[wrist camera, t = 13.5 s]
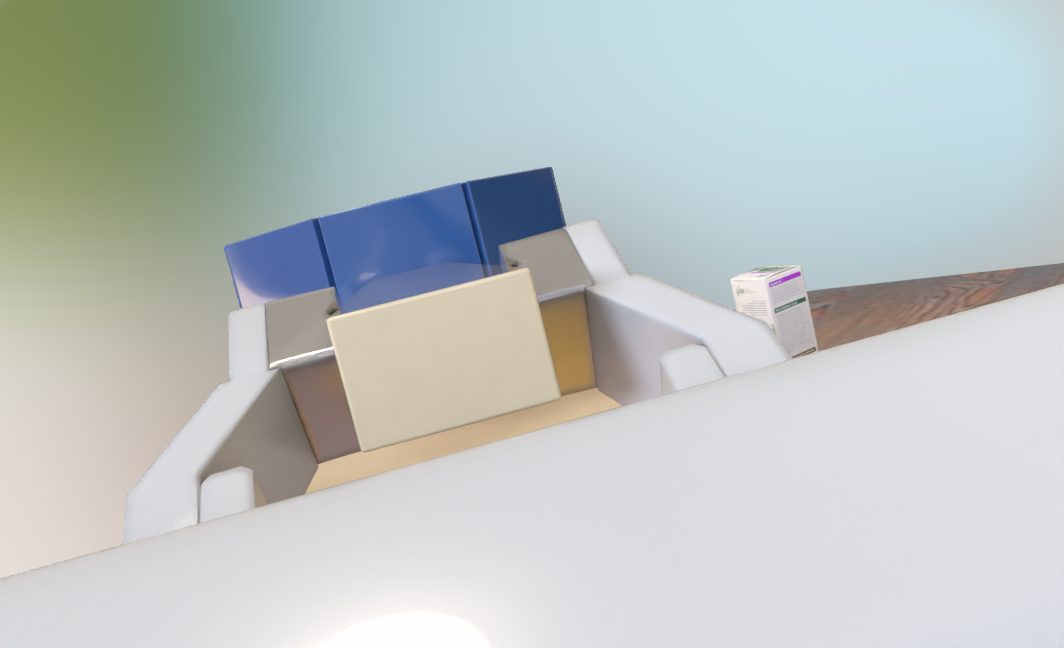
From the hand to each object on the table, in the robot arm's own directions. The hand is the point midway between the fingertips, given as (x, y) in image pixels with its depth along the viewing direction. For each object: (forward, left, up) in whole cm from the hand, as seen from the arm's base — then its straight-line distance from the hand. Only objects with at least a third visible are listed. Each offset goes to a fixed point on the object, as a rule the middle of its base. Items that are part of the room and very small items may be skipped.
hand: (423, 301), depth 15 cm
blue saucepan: (-6, +10, -3) cm, 12 cm away
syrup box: (-11, +95, -30) cm, 101 cm away
